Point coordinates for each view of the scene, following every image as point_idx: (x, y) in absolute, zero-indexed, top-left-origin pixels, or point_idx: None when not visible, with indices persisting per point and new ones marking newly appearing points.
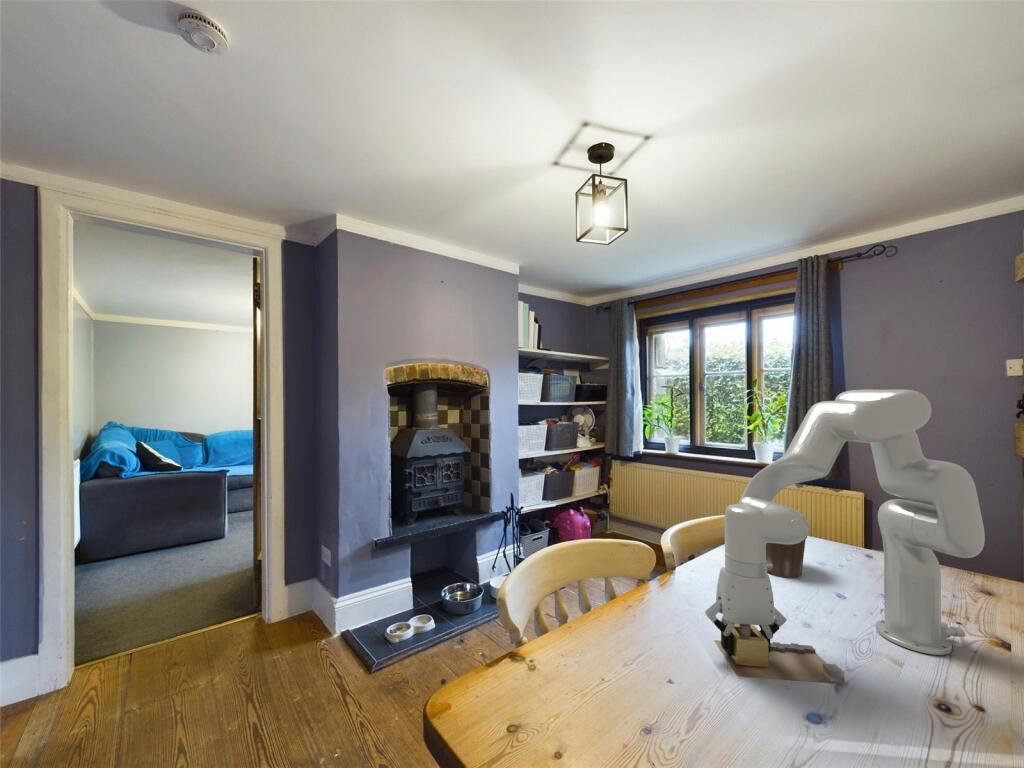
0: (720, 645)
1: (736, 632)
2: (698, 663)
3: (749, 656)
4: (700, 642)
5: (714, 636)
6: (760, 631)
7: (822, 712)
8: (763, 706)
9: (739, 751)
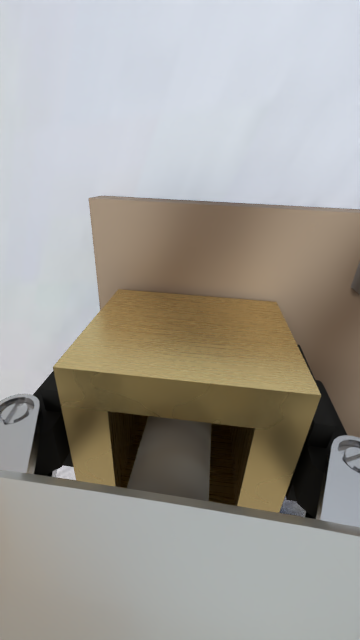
0: (112, 253)
1: (105, 466)
2: (11, 331)
3: None
4: (36, 164)
5: (138, 69)
6: (309, 457)
7: (297, 508)
8: None
9: None
